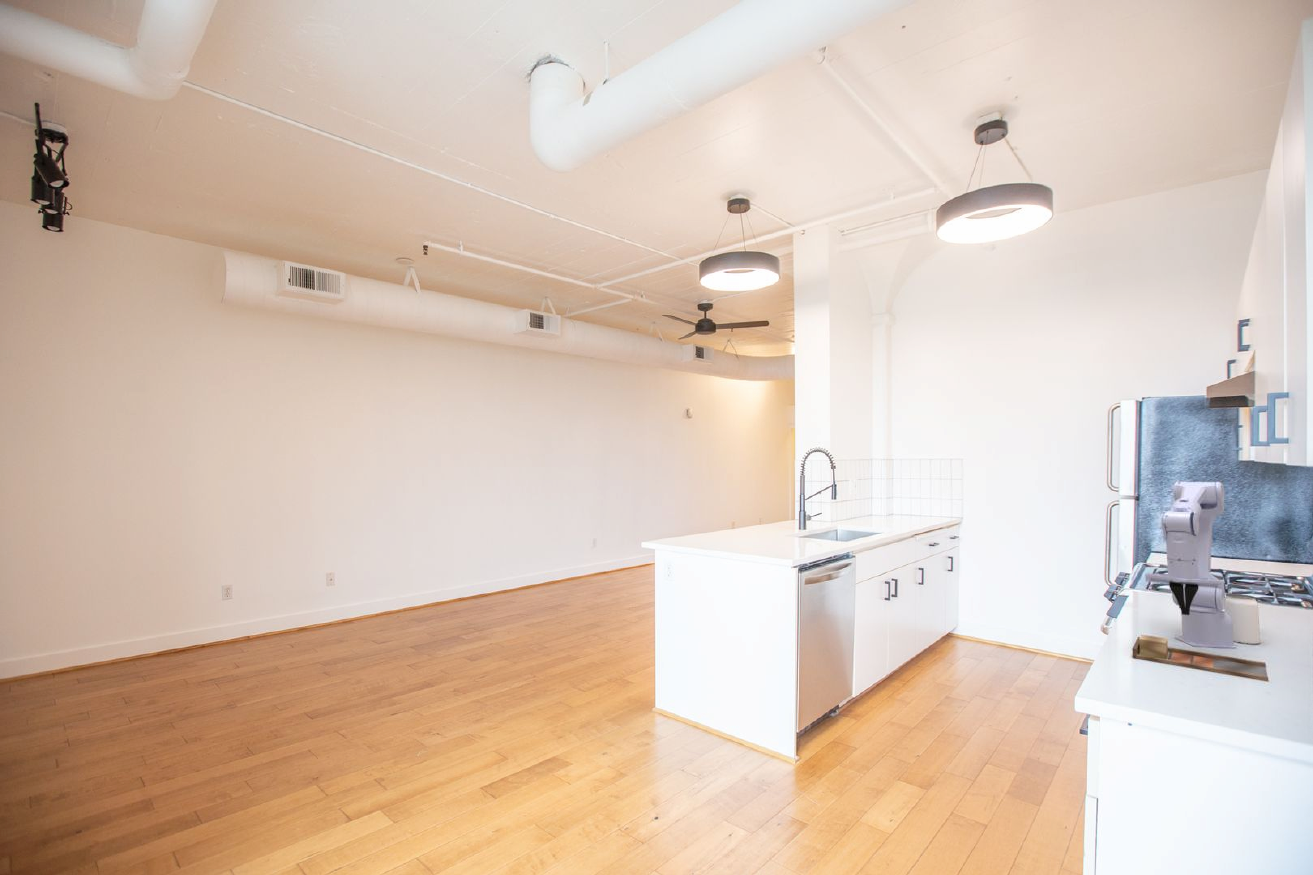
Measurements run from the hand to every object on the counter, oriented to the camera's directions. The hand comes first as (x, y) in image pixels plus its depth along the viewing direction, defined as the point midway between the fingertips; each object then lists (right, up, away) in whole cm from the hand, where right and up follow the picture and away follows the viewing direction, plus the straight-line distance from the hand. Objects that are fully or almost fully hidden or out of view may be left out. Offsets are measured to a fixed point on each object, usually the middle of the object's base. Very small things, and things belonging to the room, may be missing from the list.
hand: (1185, 613), depth 144 cm
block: (-8, -10, 0) cm, 13 cm away
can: (+25, -11, +10) cm, 29 cm away
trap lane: (-2, -10, -5) cm, 12 cm away
